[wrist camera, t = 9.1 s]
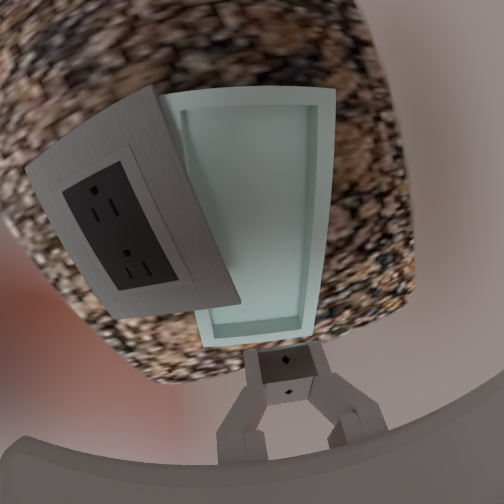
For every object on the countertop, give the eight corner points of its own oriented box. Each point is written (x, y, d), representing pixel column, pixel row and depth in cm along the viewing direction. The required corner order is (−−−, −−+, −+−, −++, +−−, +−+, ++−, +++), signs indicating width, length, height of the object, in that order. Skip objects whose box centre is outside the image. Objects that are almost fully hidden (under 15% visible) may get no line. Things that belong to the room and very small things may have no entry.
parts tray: (166, 95, 13) (158, 95, 11) (322, 88, 14) (335, 89, 12) (203, 329, 23) (203, 347, 21) (306, 318, 24) (312, 335, 22)
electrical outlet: (43, 157, 14) (21, 169, 12) (167, 83, 12) (147, 84, 10) (124, 301, 21) (112, 322, 19) (244, 282, 18) (240, 307, 16)
